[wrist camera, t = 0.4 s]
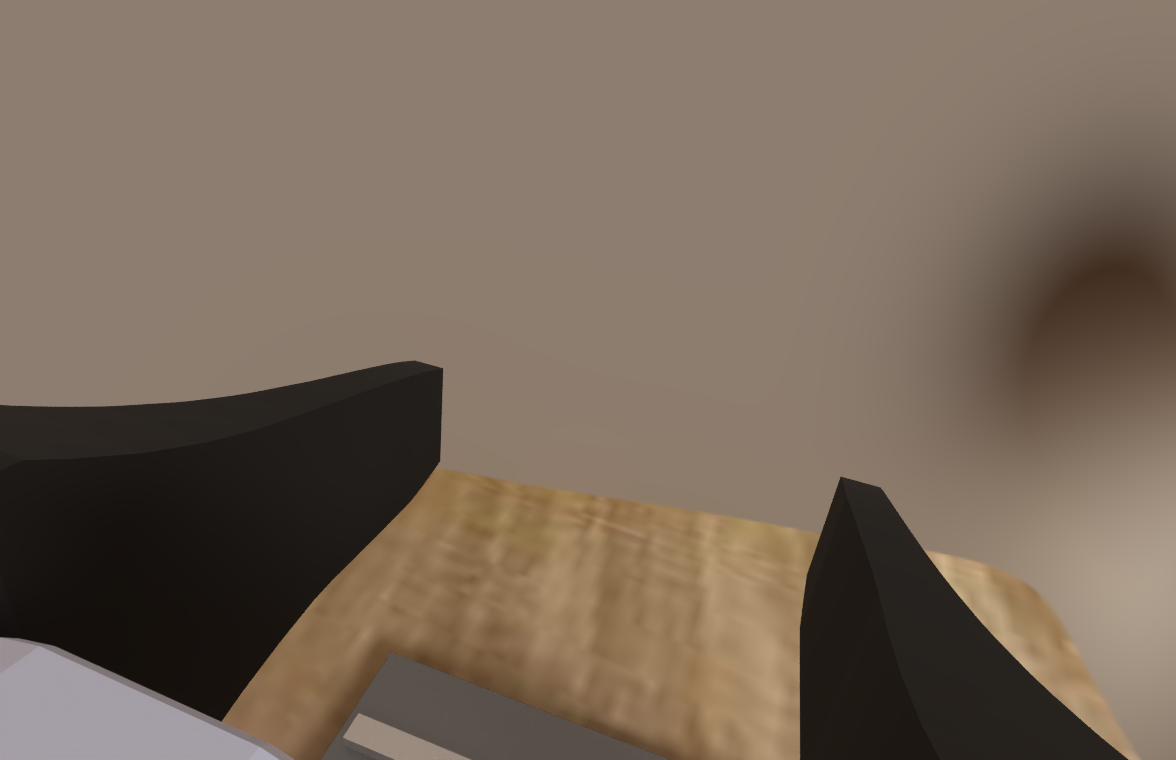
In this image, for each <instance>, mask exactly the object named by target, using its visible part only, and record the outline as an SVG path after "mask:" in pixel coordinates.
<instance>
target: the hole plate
mask: <svg viewBox="0 0 1176 760" xmlns="http://www.w3.org/2000/svg"><path fill="white" fill-rule="evenodd" d="M321 760H669V759H666V758H664V757H661V756H658V755H656V754H653V753H651V752H648V751H645V750H643V749H640V748H638V747H635V746H633V745H630V744H627V743H625V742H622V741H620V740H617V739H614V738H612V737H609V736H607V735H604V734H602V733H599V732H596V731H594V730H591V729H589V728H586V727H583V726H581V725H578V724H576V723H573V722H571V721H568V720H565V719H563V718H560V717H558V716H555V715H552V714H550V713H547V712H545V711H542V710H540V709H537V708H534V707H532V706H529V705H527V704H524V703H521V702H519V701H516V700H514V699H511V698H509V697H506V696H503V695H501V694H498V693H496V692H493V691H490V690H488V689H485V688H483V687H480V686H478V685H475V684H472V683H470V682H467V681H465V680H462V679H459V678H457V677H454V676H452V675H449V674H447V673H444V672H441V671H439V670H436V669H434V668H431V667H428V666H426V665H423V664H421V663H418V662H416V661H413V660H410V659H408V658H405V657H403V656H400V655H397V654H395V653H392V652H391V653H390V655H389V656H388V658H387V659H386V661H385V663H384V664H383V666H382V667H381V669H380V670H379V672H378V673H377V675H376V676H375V678H374V679H373V681H372V682H371V684H370V685H369V687H368V688H367V690H366V691H365V693H364V695H363V696H362V698H361V699H360V701H359V702H358V704H357V705H356V707H355V708H354V710H353V711H352V713H351V714H350V716H349V717H348V719H347V720H346V722H345V723H344V725H343V727H342V728H341V730H340V731H339V733H338V734H337V736H336V737H335V739H334V740H333V742H332V743H331V745H330V746H329V748H328V749H327V751H326V752H325V754H324V756H323V757H322V759H321Z"/></svg>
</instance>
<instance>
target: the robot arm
mask: <svg viewBox="0 0 1176 760" xmlns="http://www.w3.org/2000/svg"><path fill="white" fill-rule="evenodd" d="M442 386H443V368H439V367H436V366H432V365H429V364H425V363H421V362H417V361H406V362H398V363H392V364H386V365H381V366H376V367H372V368H367V369H362V370H358V371H354V372H349V373H345V374H341V375H337V376H332V377H327V378H323V379H318V380H314V381H310V382H304V383H300V384H294V385H289V386H284V387H279V388H274V389H269V390H264V391H258V392H253V393H247V394H241V395H235V396H228V397H220V398H212V399H204V400H195V401H186V402H176V403H161V404H160V403H159V404H143V405H127V406H108V407H107V406H106V407H33V406H7V405H0V760H294V759H293V758H291V757H289V756H288V755H286V754H285V753H283V752H282V751H280V750H279V749H277V748H276V747H274V746H273V745H271V744H269V743H267V742H265V741H262V740H260V739H258V738H256V737H254V736H251V735H249V734H247V733H245V732H243V731H240V730H238V729H236V728H234V727H232V726H229V725H227V724H225V723H223V722H221V721H222V720H223V719H224V717H225V716H226V714H227V713H228V711H229V710H230V709H231V707H232V706H233V704H234V703H235V701H236V700H237V699H238V697H239V696H240V694H241V693H242V692H243V690H244V689H245V688H246V686H247V685H248V684H249V682H250V681H251V680H252V678H253V677H254V676H255V674H256V673H257V672H258V670H259V669H260V668H261V666H262V665H263V664H264V662H265V661H266V660H267V658H268V657H269V656H270V655H271V653H272V652H273V651H274V649H275V648H276V647H277V645H278V644H279V643H280V641H281V640H282V639H283V638H284V636H285V635H286V634H287V633H288V631H289V630H290V629H291V628H292V627H293V625H294V624H295V623H296V622H297V620H298V619H299V618H300V617H301V615H302V614H303V613H304V612H305V610H306V609H307V608H308V607H309V605H310V604H311V603H312V602H313V601H314V599H315V598H316V597H317V596H318V595H319V594H320V593H321V592H322V591H323V590H324V588H325V587H326V586H327V585H328V584H329V583H330V582H331V581H332V580H333V579H334V578H335V577H336V576H337V575H338V574H339V573H340V572H341V571H342V570H343V569H344V568H345V567H346V566H347V565H348V564H349V563H350V562H351V561H352V560H353V559H354V558H355V557H356V556H357V555H358V554H359V553H360V552H361V551H362V550H363V549H364V548H365V547H366V546H367V545H368V544H369V543H370V542H371V541H372V540H373V539H374V538H375V537H376V536H377V535H378V534H379V533H380V532H381V531H382V530H383V529H384V528H385V527H386V526H387V525H388V524H389V523H390V522H391V521H392V520H393V519H394V518H395V517H396V516H397V515H398V514H399V513H400V512H401V511H402V510H403V509H404V508H405V507H406V506H407V504H408V503H409V502H410V501H411V500H412V499H413V498H414V496H415V495H416V494H417V492H418V491H419V490H420V489H421V487H422V486H423V485H424V483H425V482H426V480H427V479H428V478H429V476H430V475H431V473H432V472H433V471H434V469H435V468H436V466H437V465H438V463H439V462H440V447H441V415H442ZM800 760H1128V759H1127V758H1126V757H1124V756H1123V755H1122V754H1121V753H1119V752H1118V751H1117V750H1116V749H1115V748H1113V747H1112V746H1111V745H1110V744H1108V743H1107V742H1106V741H1105V740H1104V739H1102V738H1101V737H1100V736H1099V735H1098V734H1096V733H1095V732H1094V731H1093V730H1092V729H1091V728H1090V727H1088V726H1087V725H1086V724H1085V723H1084V722H1083V721H1082V720H1081V719H1079V718H1078V717H1077V716H1076V715H1075V714H1074V713H1073V712H1071V711H1070V710H1069V709H1068V708H1067V707H1066V706H1065V705H1063V704H1062V703H1061V702H1060V701H1059V700H1058V699H1057V698H1056V697H1054V696H1053V695H1052V694H1051V693H1050V692H1049V691H1048V690H1047V689H1046V688H1045V687H1044V686H1043V685H1042V684H1041V683H1040V682H1038V681H1037V680H1036V679H1035V678H1034V677H1033V676H1032V675H1031V674H1030V673H1029V672H1028V671H1027V670H1026V669H1025V668H1024V667H1023V666H1022V665H1021V664H1020V663H1019V662H1018V661H1017V660H1016V659H1015V658H1014V657H1013V656H1012V655H1011V654H1010V653H1009V652H1008V650H1007V649H1006V648H1005V647H1004V646H1003V645H1002V644H1001V643H1000V642H999V641H998V640H997V639H996V638H995V637H994V636H993V635H992V634H991V633H990V632H989V631H988V629H987V628H986V627H985V626H984V625H983V624H982V623H981V622H980V621H979V619H978V618H977V617H976V616H975V615H974V614H973V612H972V611H971V610H970V609H969V608H968V606H967V605H966V604H965V603H964V602H963V600H962V599H961V598H960V597H959V596H958V594H957V593H956V592H955V591H954V590H953V588H952V587H951V586H950V585H949V583H948V582H947V581H946V579H945V578H944V577H943V576H942V574H941V573H940V572H939V570H938V569H937V568H936V566H935V565H934V564H933V562H932V561H931V560H930V558H929V557H928V556H927V554H926V553H925V551H924V550H923V549H922V547H921V546H920V544H919V543H918V542H917V540H916V539H915V537H914V536H913V534H912V533H911V531H910V530H909V529H908V527H907V526H906V524H905V523H904V521H903V520H902V518H901V517H900V515H899V514H898V512H897V511H896V509H895V508H894V506H893V505H892V503H891V502H890V500H889V499H888V498H887V496H886V494H885V493H884V492H883V490H882V489H881V488H880V487H876V486H873V485H869V484H866V483H862V482H858V481H855V480H851V479H847V478H843V477H840V480H839V483H838V486H837V489H836V492H835V495H834V498H833V501H832V504H831V507H830V510H829V513H828V516H827V518H826V521H825V524H824V527H823V530H822V533H821V536H820V539H819V541H818V544H817V547H816V550H815V553H814V556H813V559H812V562H811V565H810V568H809V571H808V573H807V578H806V586H805V593H804V600H803V608H802V616H801V624H800Z"/></svg>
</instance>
